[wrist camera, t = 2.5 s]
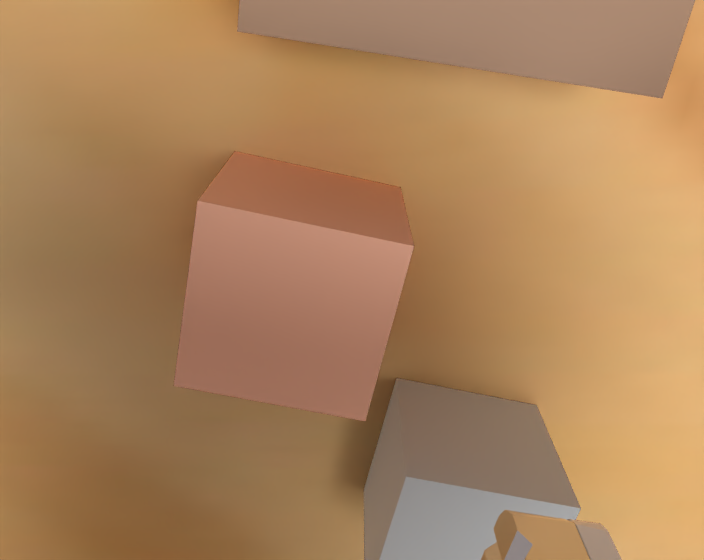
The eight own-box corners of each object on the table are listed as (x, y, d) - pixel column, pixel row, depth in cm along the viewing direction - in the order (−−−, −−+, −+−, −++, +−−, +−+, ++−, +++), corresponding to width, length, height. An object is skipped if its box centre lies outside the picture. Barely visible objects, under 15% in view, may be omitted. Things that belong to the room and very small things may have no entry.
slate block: (492, 511, 25) (523, 630, 20) (363, 488, 24) (364, 604, 20) (536, 403, 23) (580, 508, 18) (396, 376, 22) (406, 476, 18)
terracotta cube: (363, 330, 22) (365, 421, 17) (212, 300, 21) (173, 385, 17) (400, 186, 20) (414, 246, 15) (235, 150, 19) (197, 200, 15)
